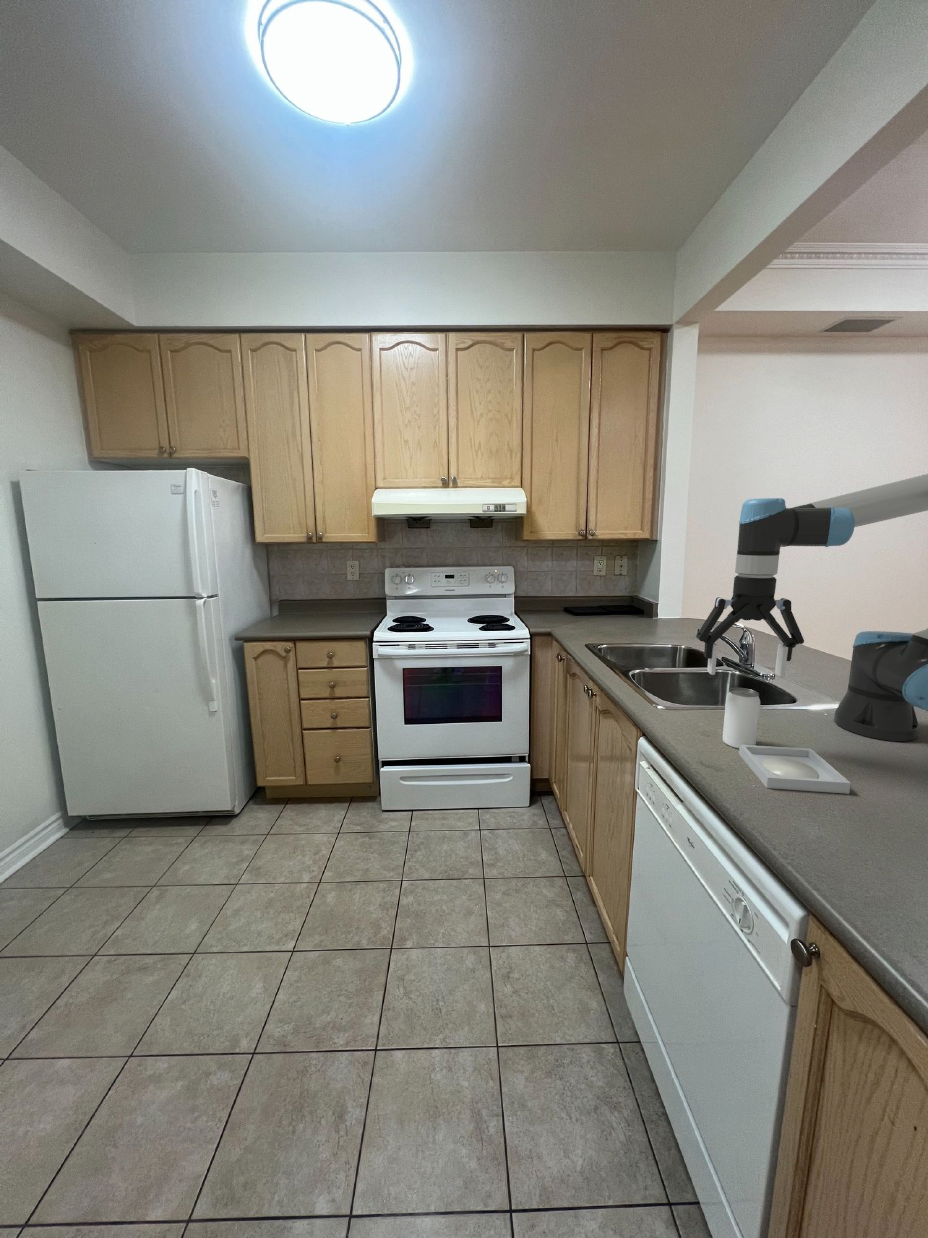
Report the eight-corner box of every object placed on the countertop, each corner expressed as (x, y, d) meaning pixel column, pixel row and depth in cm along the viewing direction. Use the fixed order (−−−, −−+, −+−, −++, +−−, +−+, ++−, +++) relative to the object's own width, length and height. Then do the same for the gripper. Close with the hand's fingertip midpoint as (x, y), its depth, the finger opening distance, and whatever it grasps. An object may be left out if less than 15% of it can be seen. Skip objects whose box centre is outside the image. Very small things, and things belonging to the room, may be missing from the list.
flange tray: (809, 758, 100) (811, 748, 100) (849, 793, 87) (850, 783, 87) (738, 753, 103) (739, 744, 102) (766, 788, 90) (767, 777, 89)
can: (725, 734, 112) (730, 685, 110) (758, 742, 108) (763, 691, 106) (719, 744, 107) (723, 693, 105) (752, 753, 103) (758, 699, 101)
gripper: (812, 573, 102) (800, 671, 106) (686, 573, 106) (678, 666, 110) (832, 577, 95) (818, 682, 99) (696, 577, 99) (688, 677, 103)
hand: (744, 674), depth 104 cm, fingers open, 13 cm apart
